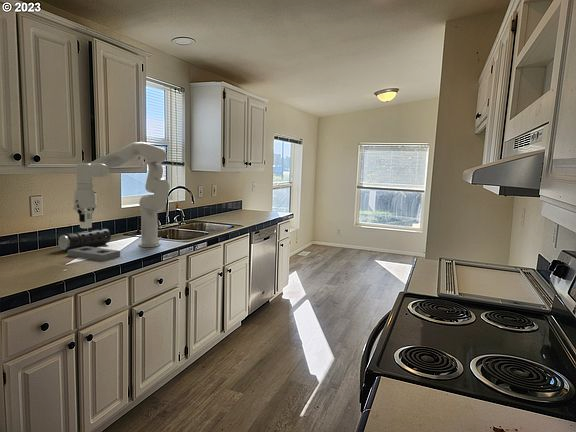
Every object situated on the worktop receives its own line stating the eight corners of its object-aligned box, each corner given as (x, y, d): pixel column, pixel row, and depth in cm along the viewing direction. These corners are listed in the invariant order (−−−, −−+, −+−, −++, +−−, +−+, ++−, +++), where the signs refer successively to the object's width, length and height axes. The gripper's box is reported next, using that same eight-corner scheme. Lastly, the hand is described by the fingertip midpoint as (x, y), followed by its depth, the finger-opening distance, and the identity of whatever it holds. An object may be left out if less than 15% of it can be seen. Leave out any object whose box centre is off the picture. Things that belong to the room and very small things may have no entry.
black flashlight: (111, 245, 237) (111, 228, 236) (68, 253, 212) (68, 235, 211) (100, 243, 241) (100, 227, 240) (57, 251, 216) (56, 233, 215)
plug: (86, 226, 209) (85, 210, 208) (92, 227, 208) (92, 211, 206) (79, 227, 205) (79, 211, 204) (86, 228, 204) (86, 211, 203)
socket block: (86, 252, 216) (86, 245, 216) (120, 257, 208) (120, 250, 208) (67, 256, 205) (67, 249, 205) (102, 261, 197) (102, 254, 197)
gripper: (92, 185, 213) (93, 218, 215) (65, 187, 197) (66, 222, 200) (102, 186, 210) (103, 219, 213) (76, 187, 195) (77, 223, 197)
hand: (85, 220), depth 206 cm, fingers closed on plug, 4 cm apart
